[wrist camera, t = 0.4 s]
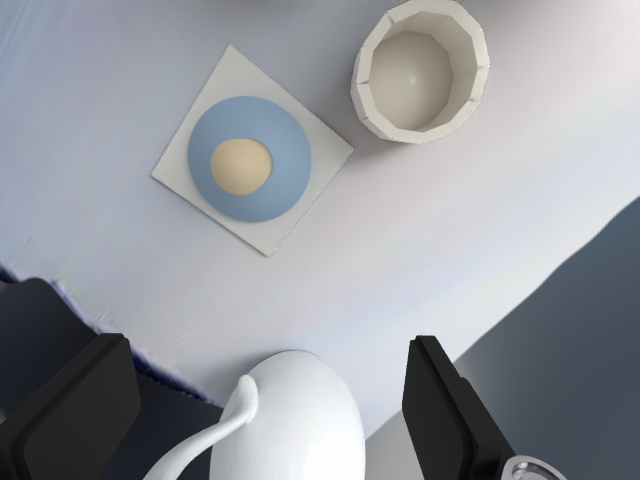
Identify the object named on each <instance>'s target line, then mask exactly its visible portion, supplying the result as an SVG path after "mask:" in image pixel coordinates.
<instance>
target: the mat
mask: <svg viewBox="0 0 640 480" xmlns="http://www.w3.org/2000/svg"><path fill="white" fill-rule="evenodd" d="M237 96H253V97H258V98H263V99H265V100H268V101H271V102H273V103H275V104H276V105H278V106H280V107H281V108H283V109H284V110H285V111H287V112H288V113H289V114H290V115H291V116H292V117H293V118H294V119H295V120H296V122H297V123H298V124H299V126H300V127H301V129H302V130H303V132H304V134H305V136H306V139H307V142H308V145H309V148H310V154H311V172H310V177H309V181H308V184H307V187H306V189H305V191H304V193H303V195H302V196H301V198H300V199H299V201H298V202H297V203H296V204H295V205H294V206H293V207H292V208H291V209H290V210H288V211H287V212H285V213H284V214H282V215H280V216H278V217H276V218H274V219H271V220H267V221H261V222H246V221H241V220H237V219H234V218H231V217H229V216H227V215H224V214H223V213H221V212H219V211H218V210H216V209H215V208H214V207H213V206H211V205H210V204H209V203H208V202H207V201H206V200H205V198H204V197H203V196H202V195H201V193H200V192H199V190H198V189H197V187H196V185H195V183H194V181H193V178H192V175H191V172H190V168H189V163H188V146H189V141H190V137H191V134H192V131H193V129H194V127H195V125H196V123H197V122H198V120H199V119H200V117H201V116H202V115H203V114H204V113H205V112H206V111H207V110H208V109H209V108H211V107H212V106H213V105H215V104H217V103H218V102H220V101H222V100H225V99H228V98H232V97H237ZM354 150H355V149H354V148H353V147H352V146H351V145H349V144H348V143H347V142H346V141H345V140H343V139H342V138H341V137H340V136H339V135H337V134H336V133H335V132H334V131H333V130H332V129H330V128H329V127H328V126H327V125H326V124H324V123H323V122H322V121H321V120H320V119H318V118H317V117H316V116H315V115H314V114H313V113H311V112H310V111H309V110H308V109H307V108H305V107H304V106H303V105H302V104H301V103H299V102H298V101H297V100H296V99H295V98H293V97H292V96H291V95H290V94H289V93H288V92H286V91H285V90H284V89H283V88H282V87H280V86H279V85H278V84H277V83H276V82H274V81H273V80H272V79H271V78H270V77H268V76H267V75H266V74H265V73H264V72H263V71H261V70H260V69H259V68H258V67H257V66H255V65H254V64H253V63H252V62H251V61H249V60H248V59H247V58H246V57H245V56H243V55H242V54H241V53H240V52H239V51H238V50H236V49H235V48H234V47H233V46H232V45H230V44H229V46H228V47H227V49H226V51H225V52H224V54H223V56H222V57H221V59H220V61H219V62H218V64H217V66H216V67H215V69H214V71H213V72H212V74H211V76H210V77H209V79H208V81H207V82H206V84H205V86H204V87H203V89H202V91H201V92H200V94H199V95H198V97H197V99H196V100H195V102H194V104H193V105H192V107H191V109H190V110H189V112H188V114H187V115H186V117H185V119H184V120H183V122H182V124H181V125H180V127H179V129H178V130H177V132H176V134H175V135H174V137H173V139H172V140H171V142H170V144H169V145H168V147H167V149H166V150H165V152H164V154H163V155H162V157H161V159H160V160H159V162H158V164H157V165H156V167H155V169H154V170H153V172H152V174H151V175H152V176H153V177H155V178H156V179H158V180H159V181H160V182H162V183H163V184H165V185H166V186H168V187H169V188H170V189H172V190H173V191H175V192H176V193H178V194H179V195H180V196H182V197H183V198H185V199H186V200H188V201H189V202H190V203H192V204H193V205H195V206H196V207H198V208H199V209H200V210H202V211H203V212H205V213H206V214H208V215H209V216H211V217H212V218H213V219H215V220H216V221H218V222H219V223H221V224H222V225H223V226H225V227H226V228H228V229H229V230H231V231H232V232H233V233H235V234H236V235H238V236H239V237H241V238H242V239H243V240H245V241H246V242H248V243H249V244H251V245H252V246H253V247H255V248H256V249H258V250H259V251H261V252H262V253H263V254H265V255H266V256H268V257H269V258H270V256H271V255H272V254H273V253H274V251H275V250H276V249H277V247H278V246H279V245H280V244H281V242H282V241H283V240H284V239H285V237H286V236H287V235H288V234H289V232H290V231H291V230H292V228H293V227H294V226H295V225H296V223H297V222H298V221H299V220H300V218H301V217H302V216H303V214H304V213H305V212H306V211H307V209H308V208H309V207H310V206H311V204H312V203H313V202H314V201H315V199H316V198H317V197H318V195H319V194H320V193H321V192H322V190H323V189H324V188H325V187H326V185H327V184H328V183H329V182H330V180H331V179H332V178H333V176H334V175H335V174H336V173H337V171H338V170H339V169H340V168H341V166H342V165H343V164H344V163H345V161H346V160H347V159H348V157H349V156H350V155H351V154H352V152H353V151H354Z"/></svg>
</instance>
